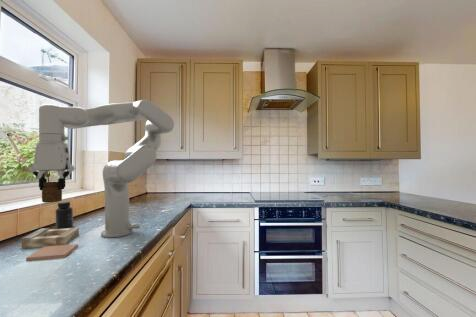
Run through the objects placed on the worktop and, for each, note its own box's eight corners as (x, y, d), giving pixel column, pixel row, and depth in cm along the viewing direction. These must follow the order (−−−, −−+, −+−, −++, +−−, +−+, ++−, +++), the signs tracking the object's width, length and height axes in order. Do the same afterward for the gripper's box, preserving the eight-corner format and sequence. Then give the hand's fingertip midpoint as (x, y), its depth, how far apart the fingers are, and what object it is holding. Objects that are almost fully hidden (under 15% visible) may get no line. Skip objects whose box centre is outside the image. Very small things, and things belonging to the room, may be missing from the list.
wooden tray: (78, 234, 111) (78, 226, 111) (64, 244, 97) (64, 235, 98) (41, 237, 108) (41, 228, 108) (21, 248, 94) (21, 238, 94)
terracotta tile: (77, 246, 95) (77, 243, 95) (65, 257, 85) (65, 254, 85) (43, 249, 93) (43, 246, 93) (26, 260, 82) (26, 257, 82)
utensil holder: (48, 203, 90) (48, 168, 90) (37, 202, 93) (37, 168, 93) (65, 200, 95) (65, 168, 95) (55, 199, 98) (55, 168, 98)
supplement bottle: (70, 225, 128) (69, 200, 128) (75, 227, 124) (75, 202, 124) (53, 228, 123) (53, 202, 123) (58, 230, 118) (58, 204, 118)
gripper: (82, 140, 99) (82, 187, 99) (31, 140, 96) (32, 189, 96) (73, 138, 92) (73, 190, 92) (18, 138, 89) (18, 191, 89)
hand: (52, 189), depth 94 cm, fingers closed on utensil holder, 5 cm apart
